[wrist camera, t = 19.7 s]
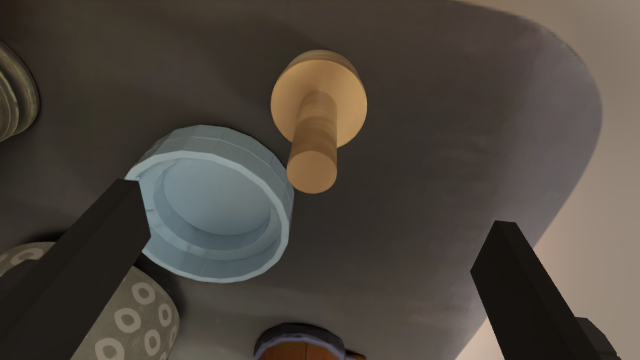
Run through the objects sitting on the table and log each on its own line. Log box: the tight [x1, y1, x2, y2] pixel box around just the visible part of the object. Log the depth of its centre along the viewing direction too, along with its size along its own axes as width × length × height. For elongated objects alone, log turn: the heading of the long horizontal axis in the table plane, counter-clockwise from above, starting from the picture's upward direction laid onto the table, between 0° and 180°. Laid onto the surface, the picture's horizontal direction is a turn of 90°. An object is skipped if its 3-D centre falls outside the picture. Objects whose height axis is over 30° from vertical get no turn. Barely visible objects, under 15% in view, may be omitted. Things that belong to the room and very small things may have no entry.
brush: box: [271, 49, 367, 194], centre depth 21 cm, size 6×6×12 cm
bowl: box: [124, 125, 294, 283], centre depth 30 cm, size 13×13×5 cm
